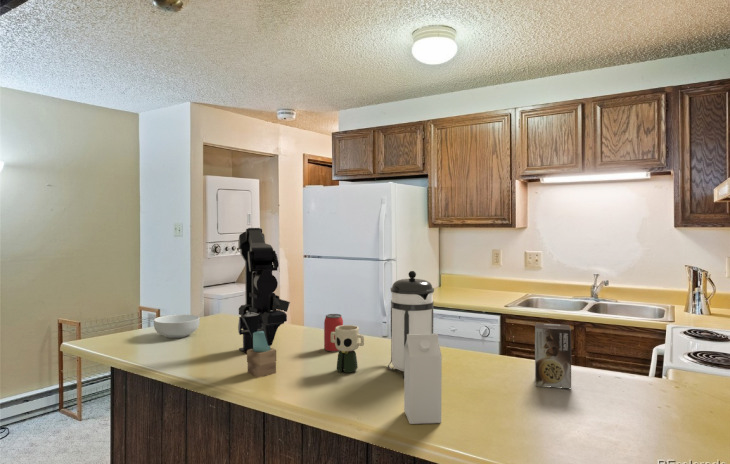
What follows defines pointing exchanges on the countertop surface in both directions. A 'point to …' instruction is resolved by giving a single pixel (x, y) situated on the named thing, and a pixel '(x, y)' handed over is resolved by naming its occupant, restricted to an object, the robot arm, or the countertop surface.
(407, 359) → the milk carton
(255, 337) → the teal rounded cylinder
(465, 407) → the countertop surface
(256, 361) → the stepped brown block
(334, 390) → the countertop surface
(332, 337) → the character mug
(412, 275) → the coffee press
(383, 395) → the countertop surface
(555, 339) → the cookie box
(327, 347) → the beer can
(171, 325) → the cereal bowl
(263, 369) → the bottom slab
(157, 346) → the countertop surface
